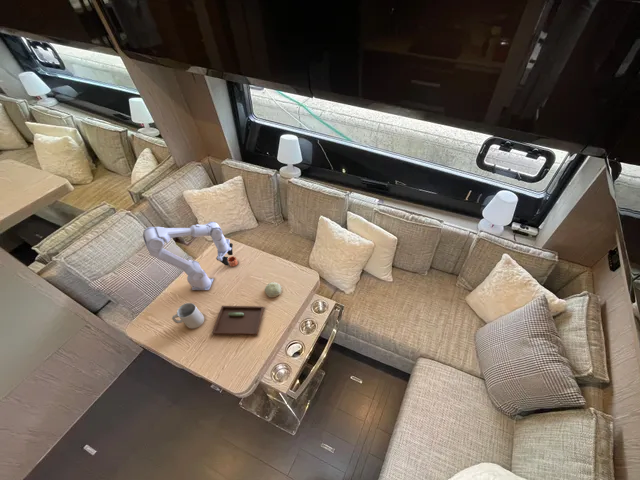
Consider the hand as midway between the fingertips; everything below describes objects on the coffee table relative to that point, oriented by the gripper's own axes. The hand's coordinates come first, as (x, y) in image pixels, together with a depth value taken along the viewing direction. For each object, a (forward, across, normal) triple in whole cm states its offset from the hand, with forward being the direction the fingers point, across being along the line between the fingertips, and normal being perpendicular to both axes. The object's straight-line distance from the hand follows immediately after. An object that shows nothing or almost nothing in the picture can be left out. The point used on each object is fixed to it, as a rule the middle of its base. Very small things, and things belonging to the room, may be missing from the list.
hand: (228, 259), depth 155 cm
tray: (+10, -33, -12) cm, 37 cm away
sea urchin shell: (+11, -14, -26) cm, 31 cm away
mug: (+11, -34, +12) cm, 38 cm away
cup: (+10, +6, +2) cm, 12 cm away
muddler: (+9, -30, -6) cm, 32 cm away
